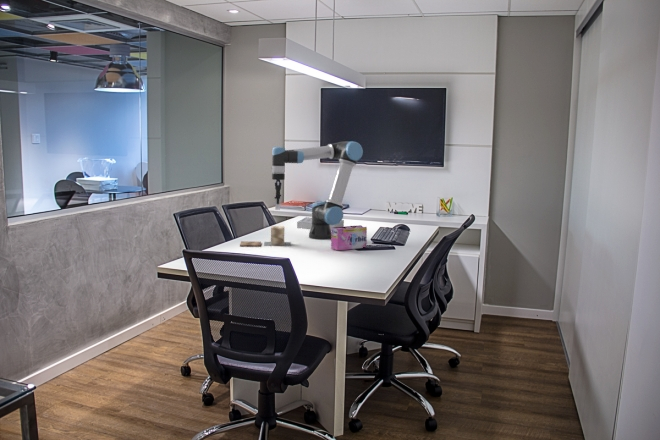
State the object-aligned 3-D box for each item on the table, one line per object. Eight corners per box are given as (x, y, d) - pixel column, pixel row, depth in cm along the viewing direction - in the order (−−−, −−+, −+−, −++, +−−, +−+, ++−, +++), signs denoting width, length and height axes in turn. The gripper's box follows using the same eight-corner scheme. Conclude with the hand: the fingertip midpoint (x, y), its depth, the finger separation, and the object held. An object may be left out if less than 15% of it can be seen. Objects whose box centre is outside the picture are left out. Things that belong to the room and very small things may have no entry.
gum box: (361, 245, 360) (361, 225, 359) (368, 247, 354) (369, 226, 352) (330, 248, 348) (331, 227, 346) (337, 250, 342) (338, 228, 340)
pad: (261, 243, 360) (261, 241, 360) (260, 246, 348) (260, 244, 348) (241, 243, 359) (241, 241, 359) (239, 246, 347) (239, 244, 347)
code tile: (290, 242, 366) (290, 241, 366) (290, 246, 353) (290, 245, 352) (264, 241, 365) (264, 241, 365) (264, 245, 351) (264, 245, 351)
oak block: (284, 242, 363) (284, 226, 362) (284, 244, 355) (284, 228, 354) (270, 242, 362) (271, 226, 361) (270, 244, 354) (271, 228, 353)
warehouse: (297, 229, 423) (297, 219, 422) (305, 227, 436) (306, 217, 435) (335, 233, 411) (336, 222, 410) (343, 230, 424) (343, 220, 423)
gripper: (272, 171, 365) (271, 206, 368) (271, 173, 341) (271, 210, 343) (284, 172, 366) (283, 206, 369) (284, 174, 341) (284, 210, 344)
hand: (277, 208), depth 356 cm, fingers open, 13 cm apart
